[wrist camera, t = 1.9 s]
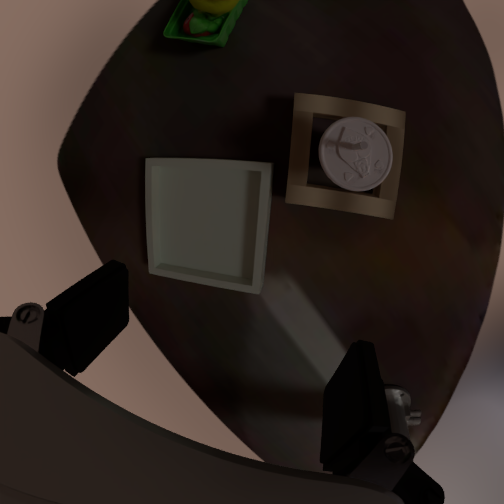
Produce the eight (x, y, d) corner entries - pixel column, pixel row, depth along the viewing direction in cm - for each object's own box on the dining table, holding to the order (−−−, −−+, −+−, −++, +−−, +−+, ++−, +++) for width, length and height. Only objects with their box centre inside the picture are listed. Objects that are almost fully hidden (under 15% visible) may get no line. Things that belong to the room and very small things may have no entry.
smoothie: (357, 120, 27) (388, 95, 14) (378, 171, 28) (423, 182, 15) (307, 139, 29) (304, 125, 16) (329, 189, 30) (342, 213, 18)
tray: (274, 162, 31) (271, 163, 28) (263, 285, 36) (259, 294, 34) (155, 157, 34) (145, 158, 31) (157, 266, 39) (149, 273, 37)
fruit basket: (211, -12, 23) (177, -52, 13) (270, -5, 23) (251, -54, 12) (179, 48, 28) (131, 20, 17) (238, 59, 27) (204, 22, 17)
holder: (396, 116, 25) (405, 111, 22) (385, 212, 30) (392, 219, 27) (296, 99, 28) (294, 92, 24) (288, 197, 32) (285, 202, 29)
